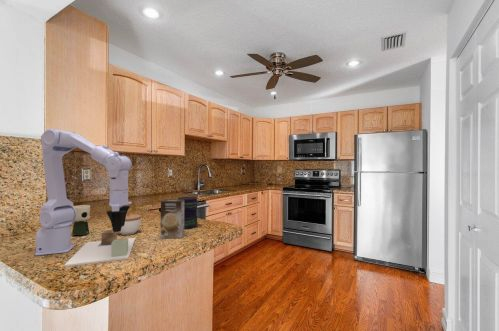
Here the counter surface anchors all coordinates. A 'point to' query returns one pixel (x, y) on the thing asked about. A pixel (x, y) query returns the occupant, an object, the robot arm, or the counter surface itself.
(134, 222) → the lidded jar
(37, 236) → the robot arm
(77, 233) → the character mug
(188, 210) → the storage jar
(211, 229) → the counter surface
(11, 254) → the counter surface
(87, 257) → the board
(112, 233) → the walnut block
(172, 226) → the coffee box
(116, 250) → the sage block
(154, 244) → the counter surface
